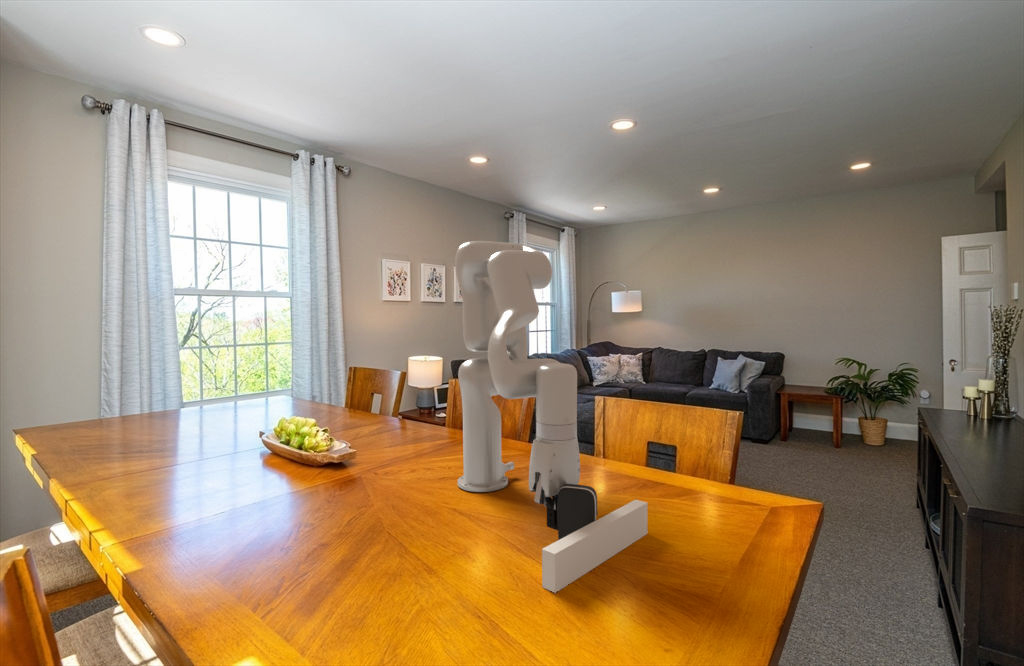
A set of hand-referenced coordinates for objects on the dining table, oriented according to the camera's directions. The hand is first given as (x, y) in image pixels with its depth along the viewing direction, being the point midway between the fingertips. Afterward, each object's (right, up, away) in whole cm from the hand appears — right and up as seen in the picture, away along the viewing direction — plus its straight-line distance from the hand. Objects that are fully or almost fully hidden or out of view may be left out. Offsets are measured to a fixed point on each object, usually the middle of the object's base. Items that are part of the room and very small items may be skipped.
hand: (555, 527), depth 93 cm
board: (+7, -3, -7) cm, 10 cm away
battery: (+4, -3, -3) cm, 6 cm away
